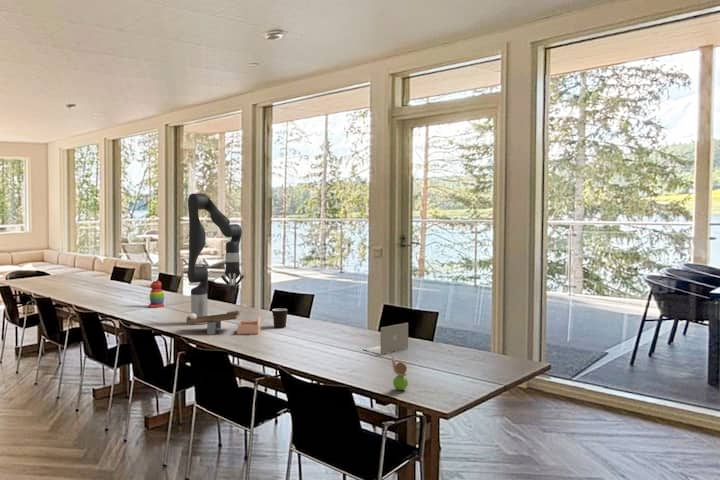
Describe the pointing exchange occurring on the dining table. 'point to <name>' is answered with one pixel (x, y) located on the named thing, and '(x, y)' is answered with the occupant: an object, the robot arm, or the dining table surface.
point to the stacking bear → (156, 295)
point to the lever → (214, 318)
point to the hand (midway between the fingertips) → (232, 292)
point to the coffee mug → (279, 317)
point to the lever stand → (213, 327)
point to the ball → (192, 316)
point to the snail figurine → (400, 375)
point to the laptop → (392, 339)
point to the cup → (249, 327)
